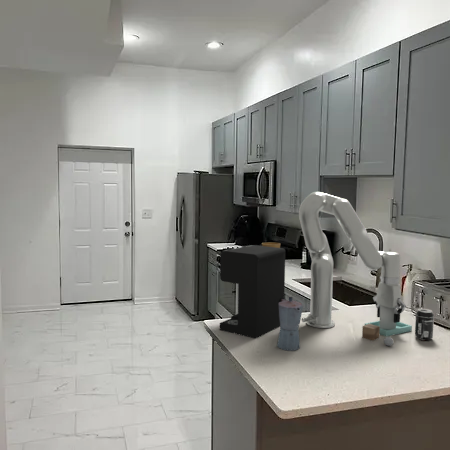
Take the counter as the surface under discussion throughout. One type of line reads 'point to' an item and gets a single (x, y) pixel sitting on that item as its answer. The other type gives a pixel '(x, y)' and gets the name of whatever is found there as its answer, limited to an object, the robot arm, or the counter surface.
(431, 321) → the beverage can
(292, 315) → the moka pot
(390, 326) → the white box
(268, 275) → the coffee maker
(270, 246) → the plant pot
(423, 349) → the counter surface
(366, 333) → the walnut block
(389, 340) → the grey ball
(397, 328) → the tray
